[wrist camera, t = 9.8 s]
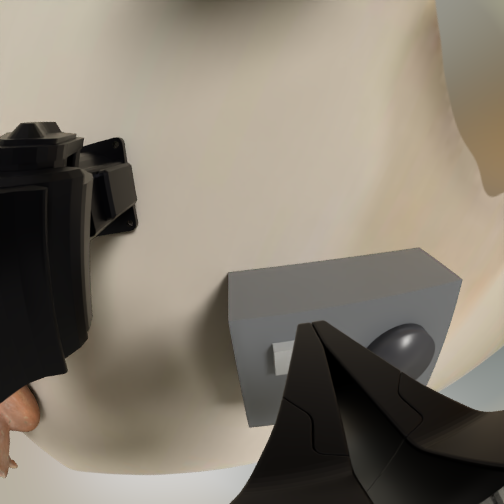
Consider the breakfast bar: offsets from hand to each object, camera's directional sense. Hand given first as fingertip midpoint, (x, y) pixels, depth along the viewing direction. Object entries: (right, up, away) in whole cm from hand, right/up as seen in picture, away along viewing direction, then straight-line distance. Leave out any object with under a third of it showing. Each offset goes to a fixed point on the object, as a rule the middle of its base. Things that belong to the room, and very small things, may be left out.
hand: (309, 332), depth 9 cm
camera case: (+5, -3, +15) cm, 16 cm away
